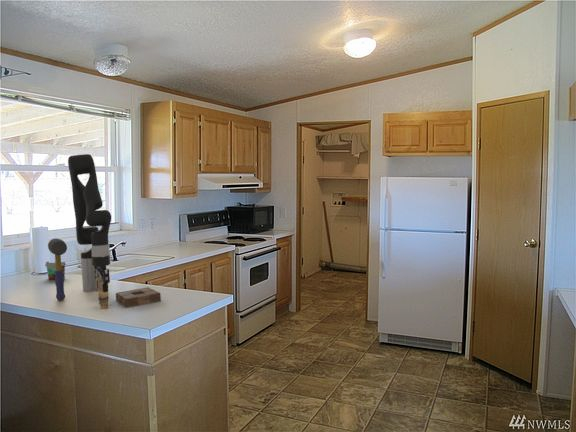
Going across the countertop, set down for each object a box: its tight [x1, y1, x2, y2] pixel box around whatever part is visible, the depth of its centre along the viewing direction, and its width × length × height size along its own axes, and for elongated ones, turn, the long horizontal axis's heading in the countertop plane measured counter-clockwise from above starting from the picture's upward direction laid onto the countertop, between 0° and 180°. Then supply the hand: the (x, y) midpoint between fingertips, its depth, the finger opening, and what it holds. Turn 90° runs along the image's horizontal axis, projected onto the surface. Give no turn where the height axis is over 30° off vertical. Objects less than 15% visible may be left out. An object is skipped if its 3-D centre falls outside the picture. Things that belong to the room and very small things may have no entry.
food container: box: [45, 260, 67, 281], centre depth 275 cm, size 12×6×10 cm, turn 76°
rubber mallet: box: [47, 238, 68, 302], centre depth 226 cm, size 12×8×30 cm, turn 34°
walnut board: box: [115, 287, 162, 309], centre depth 223 cm, size 15×16×4 cm
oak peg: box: [97, 277, 110, 310], centre depth 212 cm, size 4×4×14 cm
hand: (102, 290), depth 212 cm, fingers open, 8 cm apart
